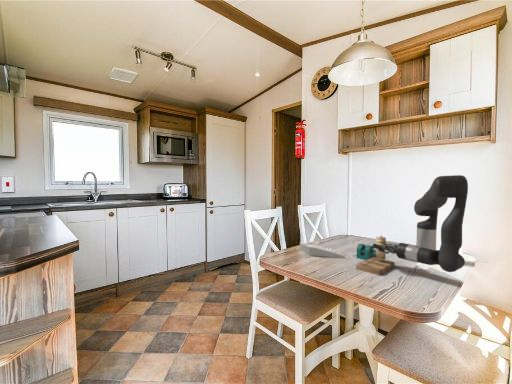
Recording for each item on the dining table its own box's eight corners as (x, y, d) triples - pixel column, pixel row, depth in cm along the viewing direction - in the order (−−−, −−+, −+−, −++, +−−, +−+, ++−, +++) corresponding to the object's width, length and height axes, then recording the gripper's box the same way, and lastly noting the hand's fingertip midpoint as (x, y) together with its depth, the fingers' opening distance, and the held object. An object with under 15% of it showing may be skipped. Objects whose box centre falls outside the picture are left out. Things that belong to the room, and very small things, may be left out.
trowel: (348, 255, 150) (348, 246, 150) (339, 262, 137) (340, 252, 137) (304, 247, 166) (304, 239, 166) (293, 253, 154) (293, 244, 153)
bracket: (368, 261, 139) (368, 246, 138) (356, 258, 144) (356, 244, 143) (382, 254, 150) (382, 241, 150) (370, 252, 155) (371, 239, 155)
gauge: (377, 256, 135) (378, 234, 135) (387, 258, 132) (387, 235, 131) (374, 258, 132) (374, 235, 131) (383, 260, 129) (384, 236, 128)
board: (372, 260, 139) (373, 256, 139) (394, 265, 131) (394, 261, 131) (356, 269, 125) (356, 264, 125) (379, 275, 117) (379, 270, 117)
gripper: (417, 242, 123) (383, 236, 138) (402, 246, 115) (367, 239, 130) (417, 258, 124) (383, 250, 138) (401, 263, 116) (367, 254, 130)
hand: (376, 245), depth 134 cm, fingers closed on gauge, 4 cm apart
